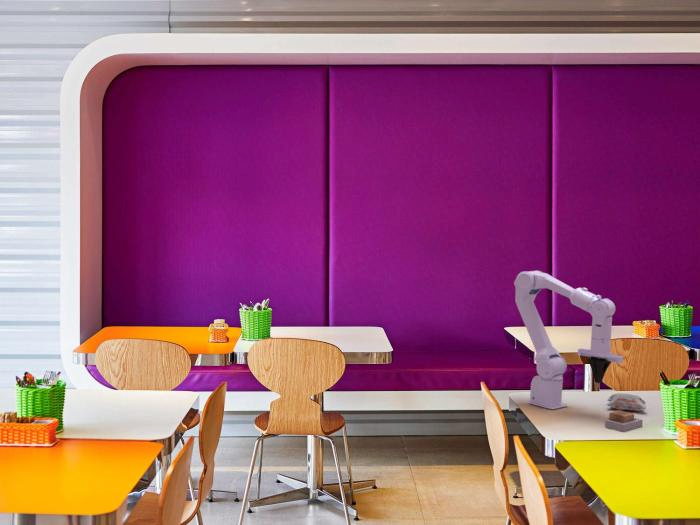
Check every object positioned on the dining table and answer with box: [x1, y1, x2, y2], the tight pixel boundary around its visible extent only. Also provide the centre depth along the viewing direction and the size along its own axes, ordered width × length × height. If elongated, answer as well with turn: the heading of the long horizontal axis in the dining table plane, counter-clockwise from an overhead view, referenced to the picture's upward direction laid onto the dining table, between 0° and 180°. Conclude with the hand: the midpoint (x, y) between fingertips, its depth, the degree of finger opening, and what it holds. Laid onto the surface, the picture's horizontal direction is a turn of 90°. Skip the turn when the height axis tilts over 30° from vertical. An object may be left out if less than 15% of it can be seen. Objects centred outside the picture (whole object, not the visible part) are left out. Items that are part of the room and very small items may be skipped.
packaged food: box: [605, 392, 647, 412], centre depth 245 cm, size 9×12×5 cm
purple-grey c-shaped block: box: [604, 417, 644, 433], centre depth 224 cm, size 6×10×2 cm, turn 130°
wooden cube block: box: [608, 409, 635, 423], centre depth 224 cm, size 5×5×4 cm
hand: (598, 382), depth 235 cm, fingers closed
